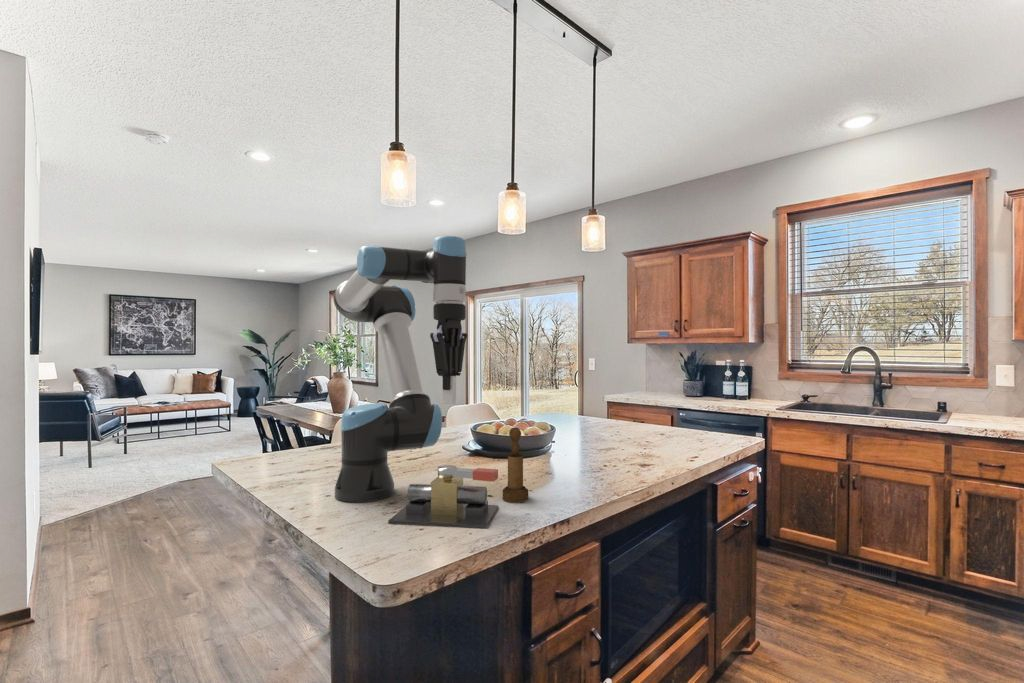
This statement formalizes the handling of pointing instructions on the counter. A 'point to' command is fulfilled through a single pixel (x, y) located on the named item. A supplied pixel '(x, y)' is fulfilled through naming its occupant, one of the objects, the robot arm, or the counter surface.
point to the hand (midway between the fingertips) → (449, 403)
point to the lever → (467, 473)
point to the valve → (446, 505)
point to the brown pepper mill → (515, 472)
